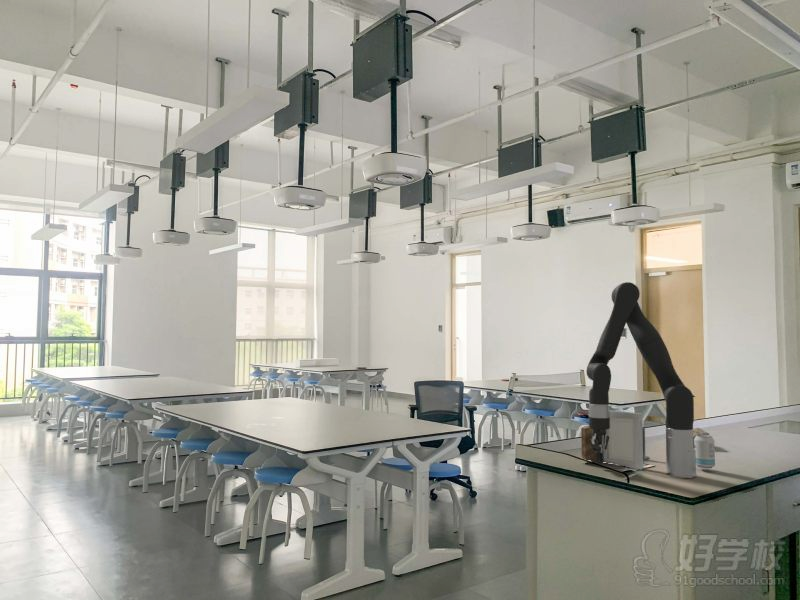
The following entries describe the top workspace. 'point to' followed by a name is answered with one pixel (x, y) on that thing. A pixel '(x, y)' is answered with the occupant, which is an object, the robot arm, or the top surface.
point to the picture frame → (625, 440)
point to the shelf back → (587, 444)
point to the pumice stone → (698, 431)
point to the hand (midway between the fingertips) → (600, 462)
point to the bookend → (644, 445)
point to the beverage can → (704, 451)
